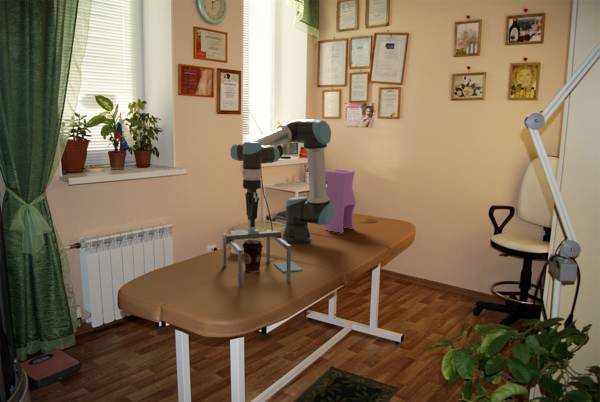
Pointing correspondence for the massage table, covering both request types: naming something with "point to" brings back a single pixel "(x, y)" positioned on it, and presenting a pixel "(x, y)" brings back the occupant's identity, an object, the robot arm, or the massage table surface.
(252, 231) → the bar
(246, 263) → the coffee cup
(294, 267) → the mat
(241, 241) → the mug
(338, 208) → the purple arched stand
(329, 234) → the massage table surface
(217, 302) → the massage table surface
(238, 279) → the frame
